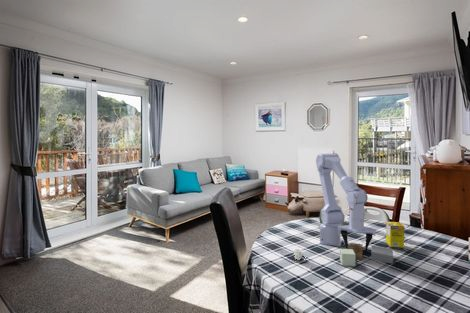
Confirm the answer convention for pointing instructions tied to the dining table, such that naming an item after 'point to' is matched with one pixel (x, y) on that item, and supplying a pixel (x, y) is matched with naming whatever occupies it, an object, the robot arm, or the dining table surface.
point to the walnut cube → (357, 250)
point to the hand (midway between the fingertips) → (356, 249)
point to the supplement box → (395, 235)
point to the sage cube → (347, 257)
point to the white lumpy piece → (298, 254)
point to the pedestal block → (382, 254)
